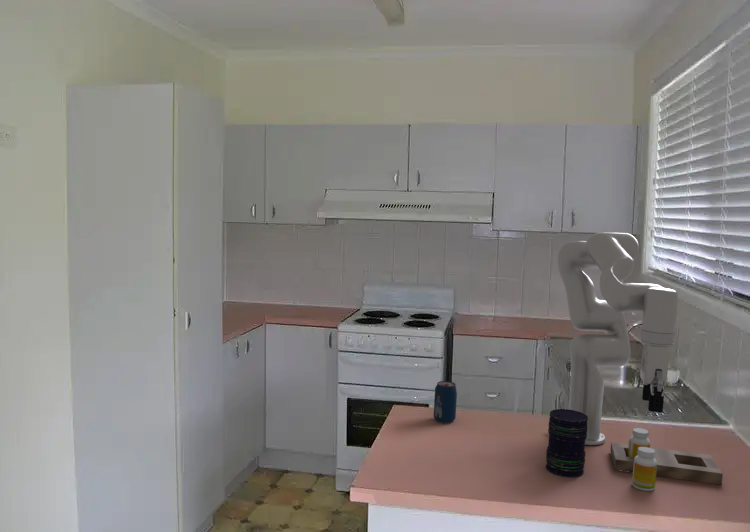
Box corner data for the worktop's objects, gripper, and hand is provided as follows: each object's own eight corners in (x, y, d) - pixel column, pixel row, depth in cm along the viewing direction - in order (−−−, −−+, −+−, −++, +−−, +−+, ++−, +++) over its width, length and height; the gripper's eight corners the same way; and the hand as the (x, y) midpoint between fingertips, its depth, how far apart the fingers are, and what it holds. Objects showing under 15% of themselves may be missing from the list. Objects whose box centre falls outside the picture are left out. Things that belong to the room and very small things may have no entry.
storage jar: (573, 461, 182) (577, 408, 180) (591, 477, 172) (595, 421, 171) (539, 462, 180) (543, 409, 179) (554, 478, 171) (559, 421, 169)
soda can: (456, 418, 214) (458, 381, 212) (454, 425, 207) (456, 387, 206) (435, 415, 215) (436, 379, 214) (431, 422, 208) (433, 385, 207)
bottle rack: (614, 470, 177) (615, 459, 177) (610, 452, 190) (611, 442, 190) (721, 484, 171) (722, 473, 171) (709, 465, 184) (710, 455, 183)
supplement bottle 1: (622, 461, 184) (625, 427, 183) (638, 459, 186) (641, 426, 185) (636, 469, 179) (639, 434, 178) (652, 467, 181) (655, 433, 180)
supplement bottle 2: (656, 492, 165) (660, 454, 164) (633, 490, 166) (637, 452, 165) (652, 483, 170) (655, 446, 169) (630, 481, 171) (633, 444, 170)
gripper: (636, 330, 173) (631, 395, 175) (646, 343, 157) (641, 414, 158) (667, 333, 172) (661, 398, 173) (681, 346, 155) (675, 418, 157)
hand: (652, 405), depth 166 cm, fingers open, 9 cm apart
